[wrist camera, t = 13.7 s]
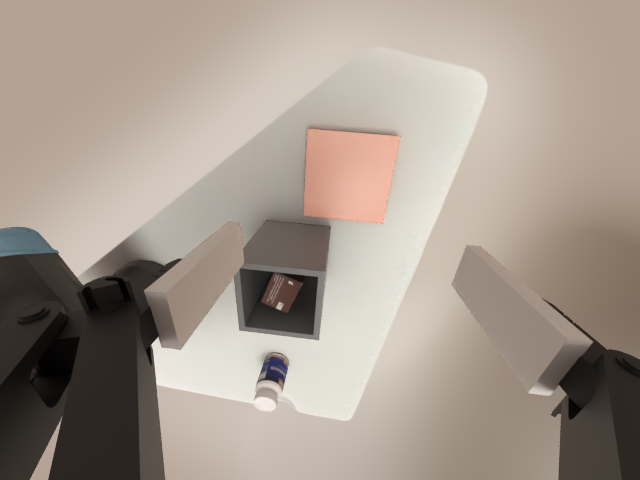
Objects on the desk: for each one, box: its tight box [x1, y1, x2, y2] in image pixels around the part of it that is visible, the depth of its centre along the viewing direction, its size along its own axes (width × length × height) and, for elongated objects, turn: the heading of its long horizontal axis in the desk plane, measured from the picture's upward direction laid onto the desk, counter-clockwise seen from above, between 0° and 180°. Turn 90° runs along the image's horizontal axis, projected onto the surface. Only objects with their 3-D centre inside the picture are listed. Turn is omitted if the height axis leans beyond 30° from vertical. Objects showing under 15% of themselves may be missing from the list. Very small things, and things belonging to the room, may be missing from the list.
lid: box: [303, 129, 401, 224], centre depth 35 cm, size 13×13×2 cm
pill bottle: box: [254, 353, 289, 412], centre depth 51 cm, size 6×6×10 cm
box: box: [261, 272, 305, 313], centre depth 37 cm, size 6×4×12 cm
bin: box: [234, 220, 331, 340], centre depth 36 cm, size 11×11×14 cm
